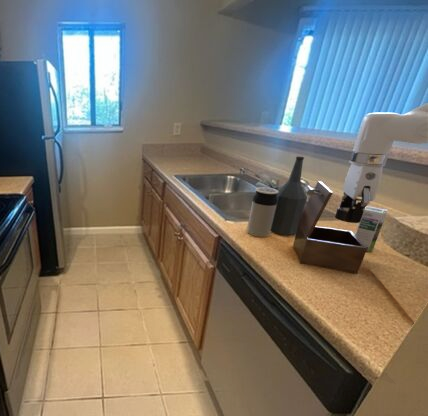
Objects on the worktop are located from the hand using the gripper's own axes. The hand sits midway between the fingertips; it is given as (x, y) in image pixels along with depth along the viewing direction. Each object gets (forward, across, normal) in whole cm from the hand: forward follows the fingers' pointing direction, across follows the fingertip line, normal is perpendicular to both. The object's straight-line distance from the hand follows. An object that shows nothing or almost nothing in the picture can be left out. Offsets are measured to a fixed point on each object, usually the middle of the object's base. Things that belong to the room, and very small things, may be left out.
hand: (348, 216), depth 84 cm
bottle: (+16, +19, +12) cm, 27 cm away
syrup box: (+16, +15, -12) cm, 25 cm away
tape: (+1, 0, 0) cm, 1 cm away
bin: (+16, 0, +3) cm, 16 cm away
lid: (-1, 0, +9) cm, 9 cm away
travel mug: (+16, +13, +21) cm, 29 cm away
